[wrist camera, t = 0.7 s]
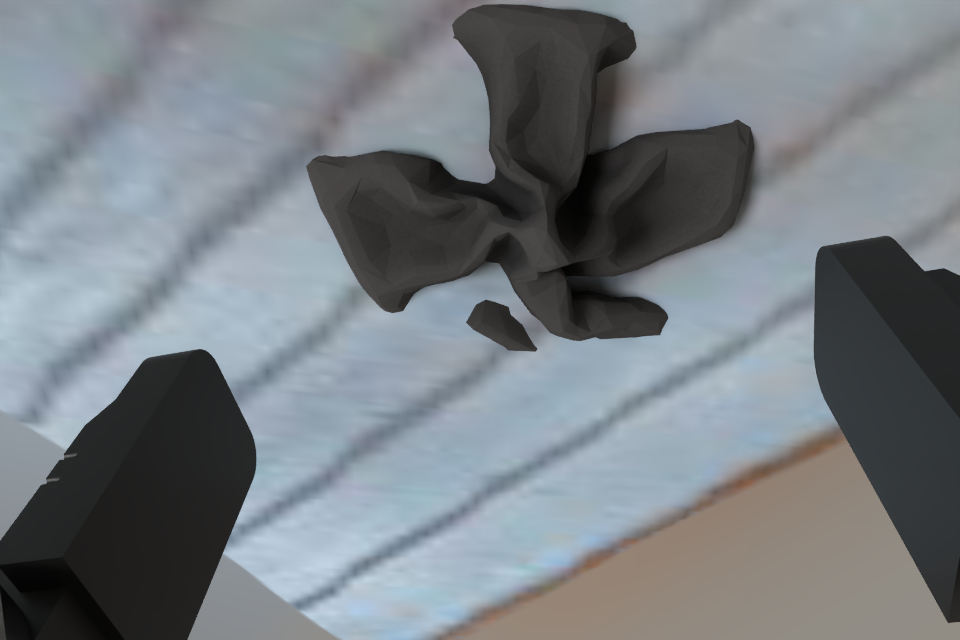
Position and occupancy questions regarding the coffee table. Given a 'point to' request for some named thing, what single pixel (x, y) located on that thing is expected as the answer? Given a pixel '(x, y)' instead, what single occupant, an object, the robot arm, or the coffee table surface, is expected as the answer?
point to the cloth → (538, 188)
